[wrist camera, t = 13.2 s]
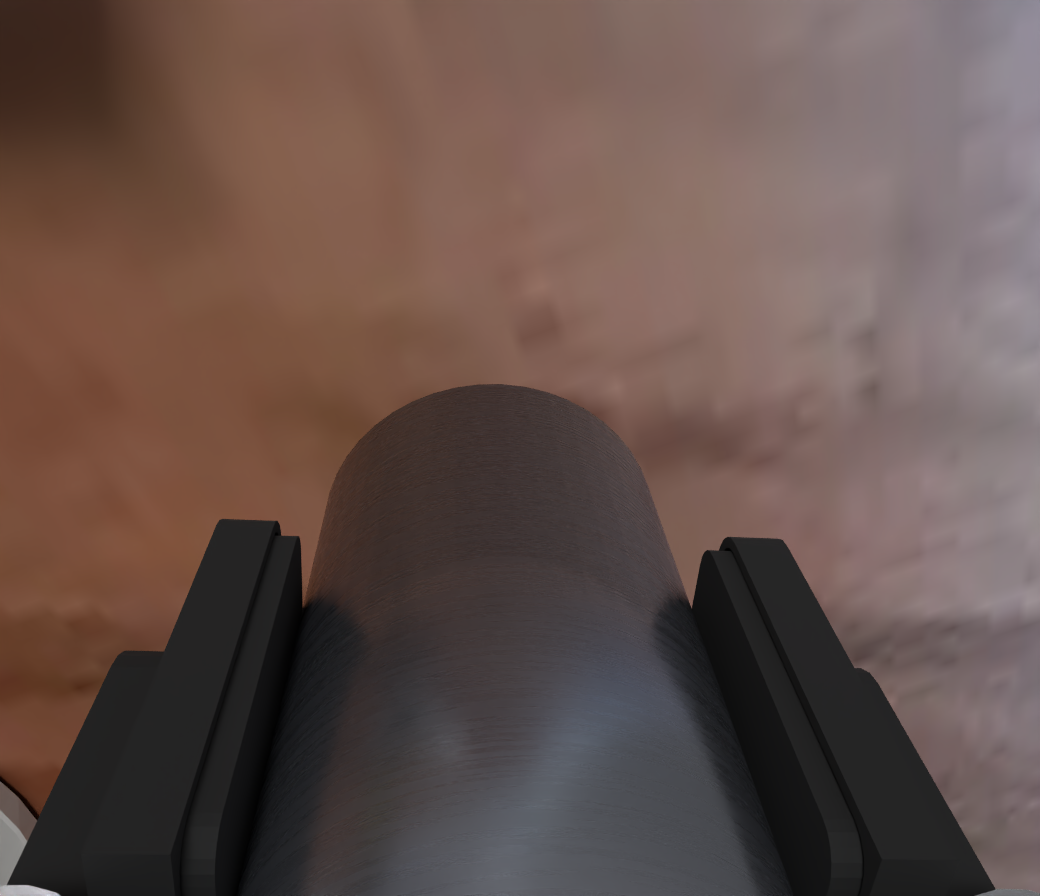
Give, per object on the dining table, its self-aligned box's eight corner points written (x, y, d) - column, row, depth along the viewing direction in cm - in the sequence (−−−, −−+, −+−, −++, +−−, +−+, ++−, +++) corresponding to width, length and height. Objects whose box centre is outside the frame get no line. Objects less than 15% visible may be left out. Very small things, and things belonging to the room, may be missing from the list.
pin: (631, 668, 13) (1003, 2197, 4) (326, 661, 13) (28, 2315, 4) (675, 392, 11) (1489, 2035, 2) (322, 376, 11) (-261, 2224, 2)
